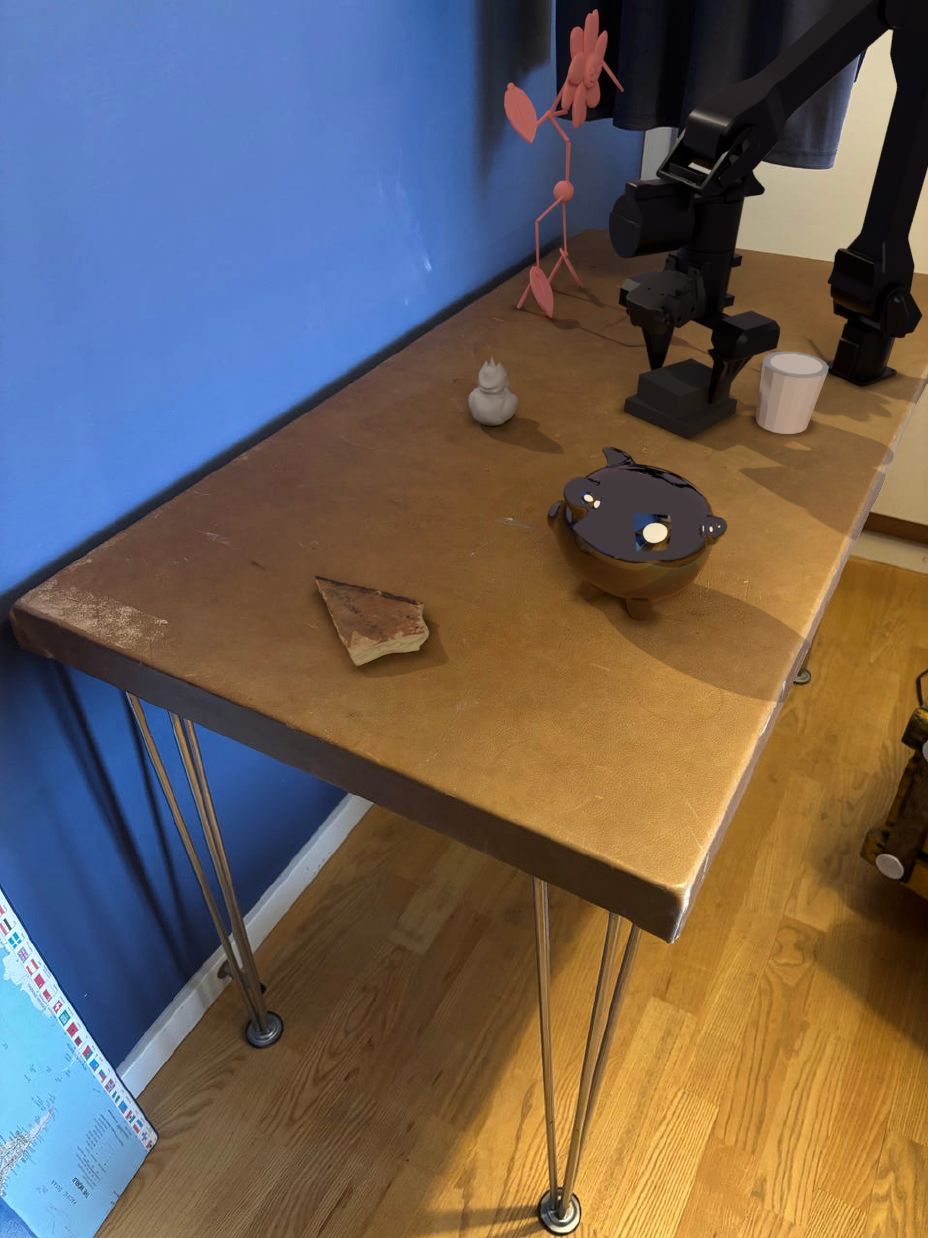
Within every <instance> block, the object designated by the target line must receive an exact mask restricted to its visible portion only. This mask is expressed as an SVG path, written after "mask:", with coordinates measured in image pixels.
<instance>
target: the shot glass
mask: <svg viewBox="0 0 928 1238" xmlns="http://www.w3.org/2000/svg"><path fill="white" fill-rule="evenodd" d="M828 369H829V366H828V365H827V364H826V361H825V360H823V359H822V358H820V357H819V356H814V355H812V354H809V353H805V352H799V351H794V350H793V351H792V350H791V351H790V350H789V351H788V350H787V351H784V350H782V351H776V352H771V353H769V354H767V355H765V356H764V358H763V360H762V365H761V375H760V382H759V391H758V397H757V407H756V414H755V421H756V423H757V425H758V426H760V427H761V428H763V429H764V430H766V431H768V432H771V433H775V434H781V435H794V434H799V433H803V432H804V431H806V430H807V428H808V425H809V423H810V420H811V418H812V415H813V412H814V410H815V407H816V404H817V403H818V402H817V401H818V399H819V397H820V394H821V390H822V389H823V386H824V383H825V380H826V377H827V375H828V373H829V371H828Z"/></svg>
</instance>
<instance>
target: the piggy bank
mask: <svg viewBox="0 0 928 1238" xmlns="http://www.w3.org/2000/svg"><path fill="white" fill-rule="evenodd" d="M601 450H602V453H603V455H604V456H605V458H606V465H605V466H604V467H601V468H599V469H596V470H594V471H592V472H590V473H589V474H587V475H586V476H577V477H574V478H571V479H570V480H568V481H567V482H566V483H565V485H564V487H563V498H564V499H562V500H557V501H556V502H554V503H553V504H552V505H551V506H550V508H549V510H548V511H547V515H546V523H547V526H548V527H549V529H550V530H551V531H552V533H553V535H554V537H555V541H556V545H557V547H558V549H559V552H560V554H561V556H562V557H563V559H564V561H565V563H566V564H567V565H568V566H569V568H570V569H571V570H572V571H573V572H574V573H575V574H576V575H577V576H578V577H580V579H581V583H580V592H579V593H580V595H581V596H582V598H583V599H585V600H588V601H597V600H599V599H600V598H601V597H602V596H603V595H604V594H605V593H608V594H610V595H612V596H615V597H618V598H622V599H624V601H625V604H626V608H627V612H628V615H629V616H631V618H632V619H634V620H638V621H643V620H646V619H648V618H649V617H650V616H651V614H652V611H653V607H654V605H655V603H656V602H658V601H661V600H665V599H668V598H671V597H673V596H676V595H677V594H679V593H680V592H682V591H684V590H685V589H686V588H688V587H689V586H690V585H691V584H692V583H693V582H694V581H696V579H697V578H698V576H699V575H700V573H701V572H702V571H703V569H704V568H705V566H706V564H707V563H708V560H709V558H710V556H711V554H712V550H713V547H714V546H716V545H717V544H718V543H719V541H720V540H721V539H722V538H723V537H724V536H725V535H726V532H727V530H728V522H727V520H726V519H725V518H724V517H722V516H718V515H715V514H714V511H713V508H712V506H711V504H710V502H709V500H708V498H707V497H706V495H705V493H703V491H702V490H701V489H700V488H699V487H697V486H696V484H694V483H693V482H691V480H688V479H687V478H685V477H684V476H682V475H680V474H677V473H676V472H673V471H670V470H668V469H666V468H661V467H659V466H654V465H650V464H649V465H648V464H643V463H637V462H636V461H635V460H634V458H633V457H632V456H631V455H630V453H628V452H627V451H625V450H622V449H620V448H617V447H614V446H604V447H603V448H602V449H601Z"/></svg>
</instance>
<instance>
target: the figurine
mask: <svg viewBox="0 0 928 1238" xmlns="http://www.w3.org/2000/svg"><path fill="white" fill-rule="evenodd" d="M599 18H600V17H599V11H598V9H594V10H593V11H592V13H588V14H587V16H586V18H585V23H584V30H583V28H581V27H580V26H576V27H573V28H572V30H571V32H570V37H569V38H570V39H569V48H570V57H571V58H570V59H571V61H570V65H569V67H568V71H567V77H566V79H565V82H564V83H563V85H562V87H561V89H560V91H559V93H558V95H557V96H556V98H555V100H554V102H553V104H552V106H551V108H550V109H549V110H546V112H545V114H544V115H542V117H541V118H539V119H538V117H537V111H536V109H535V107H534V105H533V102H532V101H531V99H530V97H528V95H527V94H526V92H525V91H524V90H523V89H521V88H519V87H518V86H515V84H514V83H513V82H509V83H508V84H507V86H506V87H507V90H506V91H505V92H504V101H503V102H504V103H503V105H504V111H505V114H506V117H507V119H508V121H509V122H510V125H511V127H512V128H513V129H514V130H515V132H516V133H517V134H519V136H520V137H521V138H522V139H523V140H524V141H526V142H527V143H528V144H529V145H532V144H533V142H534V139H535V137H536V132H537V129H538V128H539V127H540V126H541V124H543V123H544V122H545V121H546V120H548V121H551V123H552V124H553V126H554V128H555V129H556V130H557V132H558V133H559V135H560V136H561V138H562V140H563V141H564V142H565V145H566V146H565V150H566V151H565V180H560V181H558V182H557V183H556V185H554V188H553V197H554V199H555V200H556V201H555V202H554V203H552V205H551V206H550V207H548V209H546V210H545V211H544V212H543V213H542V214H541V215H540V216H539V217H538V218H537V219H536V220H535V222H534V223H535V224H534V225H535V252H536V253H535V255H536V258H535V259H536V265H534V266H532V267H531V269H530V270H529V281H530V282H529V283H528V286H527V287H526V289H525V291H524V293H523V294H522V295H521V298H520V300H519V301H518V303H517V306H516V308H517V309H521V308H522V306H523V304H524V303H525V301H526V299H527V297H528V295H529V293H530V291H532V294H533V296H534V298H535V300H536V302H537V304H538V305H539V307H540V308H541V309H542V310H543V312H545V314H546V315H547V316H548V317H549V318H550V319H551V318H552V317H553V314H554V303H555V302H554V301H555V300H554V295H553V289H552V286H551V283H552V281H553V279H554V277H555V275H556V273H557V272H558V270H559V268H560V266H561V265H562V263H563V262H565V264H566V266H567V267H568V269H569V272H570V273H571V275H572V277H573V279H574V280H575V282H576V283H577V285H578V286H579V288H580V289H583V285H582V283H581V281H580V279H579V277H578V275H577V273H576V271H575V269H574V267H573V265H572V263H571V261H570V259H569V258H568V256H569V253H568V251H567V248H568V247H567V221H566V220H567V219H566V218H567V217H566V203H568V202H570V201H571V200H572V198H573V196H574V193H575V189H574V186H573V184H572V183H571V182H570V166H571V165H570V164H571V149H572V148H571V147H572V143H571V140H570V138H569V137H568V135H567V134H566V133H565V131H564V130H563V129H562V127H561V126H560V124H559V123H558V122H557V121H556V119H555V118H556V117H561V116H564V115H567V114H568V113H569V110H570V108H571V115H572V116H571V117H572V126H573V129H574V130H576V129H578V128H579V126H583V125H584V124H585V121H586V118H587V109H589V108H590V109H593V108H596V107H597V106H598V104H599V103H600V100H601V89H600V84H599V81H598V80H599V78H600V75H601V72H602V70H603V69H604V71H606V73H607V75H609V77H610V78H611V80H612V81H613V82H614V84H615V85H616V86H617V88H618V89H619V90H620V92H622V93H623V92H624V91H625V90H624V88H623V86H622V85H621V84H620V82H619V80H618V79H617V78H616V76H615V74H614V73H613V72H612V70H611V69H610V67H609V65H607V63H606V61H605V60H604V58H605V55H606V50H607V45H608V38H609V37H608V32H607V30H603V32H602V33H600V35H599V27H600V19H599ZM560 101H561V110H557V111H555V110H556V108H557V106H558V104H559V103H560ZM571 106H572V107H571ZM554 117H555V118H554ZM559 203H562V223H563V225H562V227H563V248H562V247H560V248H559V252H560V254H561V255H560V257H559V259H558V261H557V262H556V264H555V266H554V268H553V270H552V271H551V274H550V275H549V277H548V278H547V276H546V274H545V272H544V271H543V270H542V269H541V268H540V243H539V237H540V236H539V234H540V233H539V222H540V221H541V220H542V219H544V217H546V216H547V215H548V213H550V212H551V211H552V210H553V209H554V208H555V207H556V206H557V205H558V204H559ZM563 249H564V250H563ZM616 287H617V288H619V289H620V288H621V286H619V285H618V284H617V285H616ZM626 309H627V308H626V307H625V309H624V310H623V311H622V312H621V313H619V314H618V315H616V316H614V317H612V318H610V319H606V320H604V321H601V324H604V323H606V322H609V321H612V320H614V319H616V318H618V317H620V316H621V315H622V314H624V313H626ZM493 319H494V320H496V321H500V322H501V323H503V322H504V319H503V320H502V319H500V318H496V317H493Z"/></svg>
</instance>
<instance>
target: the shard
mask: <svg viewBox="0 0 928 1238" xmlns="http://www.w3.org/2000/svg"><path fill="white" fill-rule="evenodd" d="M314 579H315V583H316V586H317V588H318V592H319V593H320V594H321V596H322V599H323V601H324V602H325V603H326V604H327V605H326V606H327V610H328V612H329V615H330V616H331V619H332V622H333V624H334V627H335V628H336V630H337V634H338V637H339V639H340V640H341V642H342V644H343V645H344V646H345V648H346V651H347V652H348V655H349V656H350V659H351V660H352V662H353V664H354V666H356V667H359V666H360V667H361V666H362V665H364V664H366V663H369V662H371V661H374V660H376V659H379V658H381V657H383V656H386V655H389V654H396V653H397V654H399V653H400V654H401V653H410V652H418V651H420V650H421V648H420V647H421V645H423V644H424V643H425V641H427V640H428V639H429V636H430V631H429V628H428V626H427V625H426V622H425V620H424V617H423V614H424V608H425V602H421V601H419V600H416V599H412V598H409V597H406V596H402V595H394V594H393V593H391V592H388V591H383V590H379V589H376V588H373V587H367V586H365V585H364V586H363V585H358V584H353V583H348V582H342V581H337V580H334V579H329V578H327V577H322V576H319V575H314Z"/></svg>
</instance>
